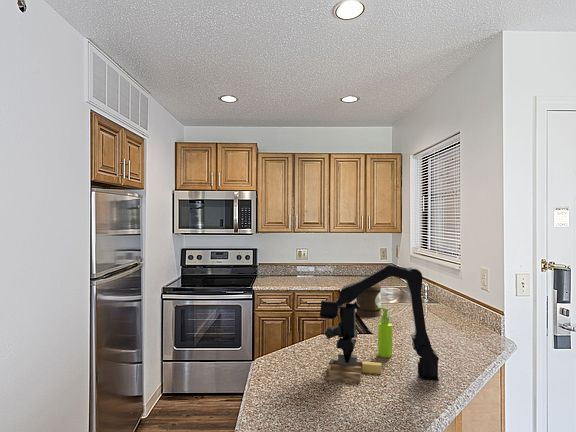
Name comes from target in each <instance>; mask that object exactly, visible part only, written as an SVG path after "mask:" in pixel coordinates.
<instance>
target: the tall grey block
mask: <svg viewBox="0 0 576 432" xmlns="http://www.w3.org/2000/svg"><path fill="white" fill-rule="evenodd" d="M357 357H358V355H356V354H352V355H351V357H350V360H349V362H348V363H346V362H345V358H344V354H339V353H338V354H337V359H338V365H347V366H357V361H358V358H357Z"/></svg>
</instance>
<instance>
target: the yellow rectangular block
mask: <svg viewBox="0 0 576 432" xmlns="http://www.w3.org/2000/svg"><path fill="white" fill-rule="evenodd" d="M362 373H369V374H379V375H380V374H382V362H374V361H373V362H371V361H364V360H363V361H362Z"/></svg>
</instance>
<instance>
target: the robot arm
mask: <svg viewBox="0 0 576 432" xmlns="http://www.w3.org/2000/svg"><path fill="white" fill-rule="evenodd" d="M390 277H396V278H398V279H401V280H405V282H406V285H407V288H408V291H409V294H410V295H409V296H410V302H411V308H412V309H411V310H412V317H413V325H414V333H412V334H410V336H411V346H412V348H413V350H414V351H415V353H416V355H418V356H419V361H417V375H418V376H419V379H421V380H430V381H431V380H432V381H440V380H439V359H440V358H439V356H438V354H437V353H436V351H435V350H434V348H433V347H432V344H431V341H430V337H429V335H428V332H427V327H426V321H425V313H424V306H423V298H422V290H423V289H422V288H423V273H422V272H421V271H420V270H419V269H418V268H416V267H413V266H412V267H408V268H407V267H403V266H399V265H398V266H397V265H395V264H391V263H388V264H386V265H385V266H384V267H382V268H380V269H378V270H377V271H375V272H374V273H372V274H370V275H368V276H366V277H365V278H363V279H361V280H358V281H356V282H352V283H350V284H347V285H344V286H342V288H341V289H340V292H339V296H337V298H336V300H335V301H333V300H332V301H331V300H321V302H320V311H319V317H320V319H322V320H335V319H336V318H337V317H339V323H338V324H337V325H333V326H330V327H327V328H325V329H324V336H325V337H326V339H327V340H330V339H332V338H335V337H338V339H337V341H336V349H339V350H340V349H341V350H342V353H343V354H342V355H344V358H345V362H346V363H348V362H349V360H350V357H351V355H353V353H354V349H355V347H356V342H357V338H358V331H357V330H356V309H360V305H358V304H357V302H356V299H357V297H358V296H359V295H360V294H361V293H362V292H364V291H365V290H367V289H368V288H370V287H372V286H374V285H375V284H379V283H380V282H382V281H384V280H386V279H387V278H390Z"/></svg>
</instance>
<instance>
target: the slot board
mask: <svg viewBox="0 0 576 432" xmlns="http://www.w3.org/2000/svg"><path fill="white" fill-rule="evenodd" d="M362 363H363V361H362V360H357V366H347V365H338V358H331V359H330V360H329V362H328V365H327V367H326V371H325V380H327V381H328V380H329V381H337V382H346V383H347V382H350V383H358V384H359V383H361V380H362V373H363V372H362Z"/></svg>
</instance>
